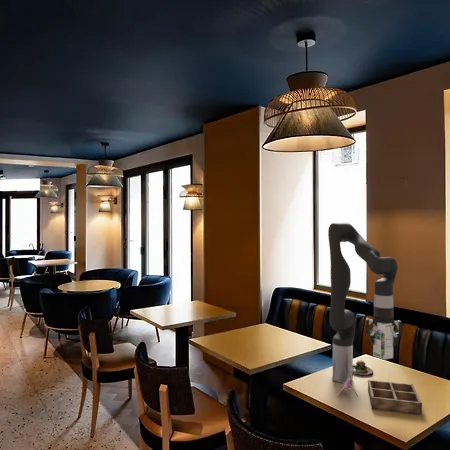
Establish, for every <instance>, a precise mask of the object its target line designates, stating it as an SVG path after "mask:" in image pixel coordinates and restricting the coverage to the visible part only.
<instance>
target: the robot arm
mask: <svg viewBox="0 0 450 450" xmlns="http://www.w3.org/2000/svg"><path fill="white" fill-rule="evenodd" d="M327 231H328V233H327V235H328V236H327V237H328V246H329V253H330V254H329V256H330V306H329V307H330V308H329V324H330V326H331V328H332V330H334V331H335V332H336V333H335V334H334V336H333V337H332V381H335V382H337V383H342V384H345V383H344V382H345V381H346V380H347V378H348V377H350V379H351V377H352V376H353V375H354V373H353V364H354V362H353V361H354V360H353V357H354V356H353V355H354V354H353V353H354V352H353V349H354V344H353V342H354V340H355V337H356V336H355V335H356V334H355V333H356V318H355V315H354V313H353V312H352V311H351V310H350V309H345V308H346V307H345V306H346V305H345V303H346V298H347V296H348V293H349V291H350V288H351V283H352V281H351V280H352V279H351V276H352V275H351V268H350V265H349V264H348V262H347V261H346V259H345V257H344V256H343V253H342V250H341V249H342V248H341V243H347V242H348V243H350V244H352V245H353V247H354V251H355V254H356V255H357V256H358V257H359V258H361V260H363V261H364V262H365V263H366V265H367V266H368V268H369V270H370V271H371V272H372V273H374V274H376V275H382V277H381V278H380V279H377V280H375V281H374V296H373V317H372V319H371V318H369V317H366V318H365V326H364V327H365V329H364V330H365V333H366V334H367V335H369V343H370V344H371V345H374V334H375V332H377V330H378V326H379V324H378V325H377V323H392V326H393V325H394V326H395V325H396V327H397V332H396V331H395V330H394V328H393V329H392V328H391V326H390V325H389V326H390V331H391V333H392V334H393V347H396V346H397V345H398V337H402V336H403V323H402V321H401V320H400V319H398V320H394V283H395V279H396V276H397V273H398V263H397V260H396V259H395V258H394V257H393V256H392V257H391V256H384V257H383V256H381V253H380V251H379V250H378V249H377V248H376V247H374V246H373V245H371V244H370V243H369V242H367V240H366V239H365V238H363V236H362V235H361V234H360V233H359V232H358V230H356V227H354V226H353V225H352V224H351V223H349V222H332V223H330V225H329V227H328V230H327ZM372 323H373V327H372V329H371V330H370V325H371V324H372ZM374 325H375V326H376V327H375V328H374ZM353 377H354V376H353ZM352 381H353V378H352Z"/></svg>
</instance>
